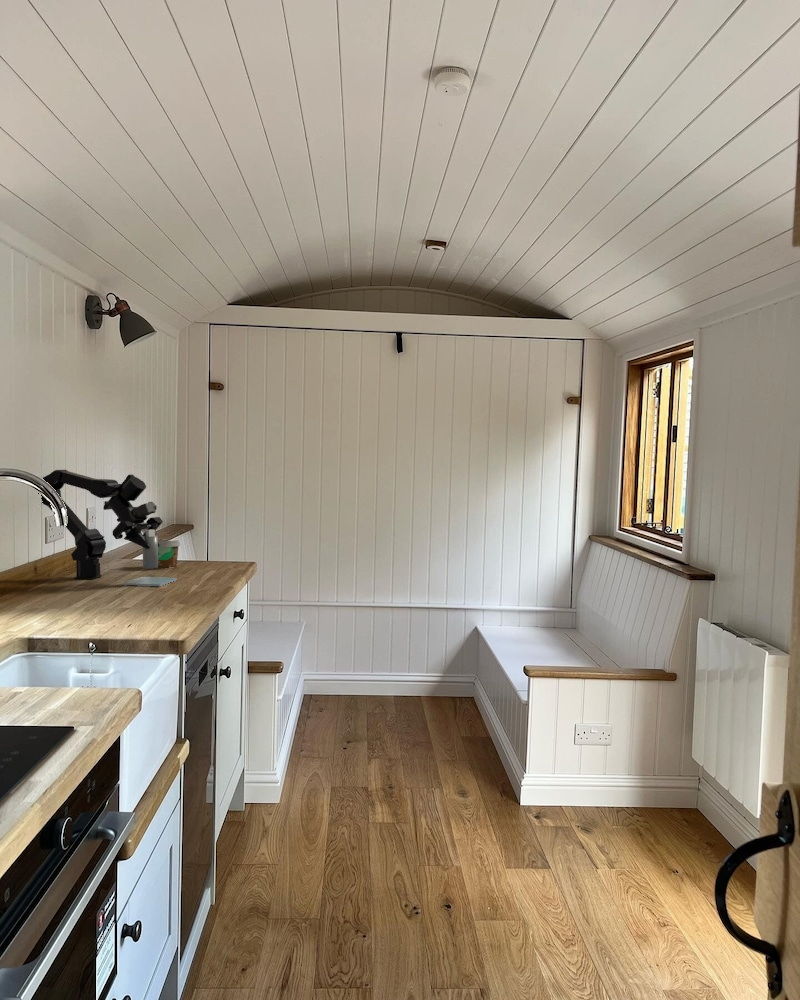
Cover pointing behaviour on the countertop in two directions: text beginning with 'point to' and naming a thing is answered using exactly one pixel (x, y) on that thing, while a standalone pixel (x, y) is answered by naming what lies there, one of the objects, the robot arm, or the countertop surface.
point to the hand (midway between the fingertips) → (153, 547)
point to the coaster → (150, 581)
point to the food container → (168, 553)
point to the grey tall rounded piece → (150, 551)
